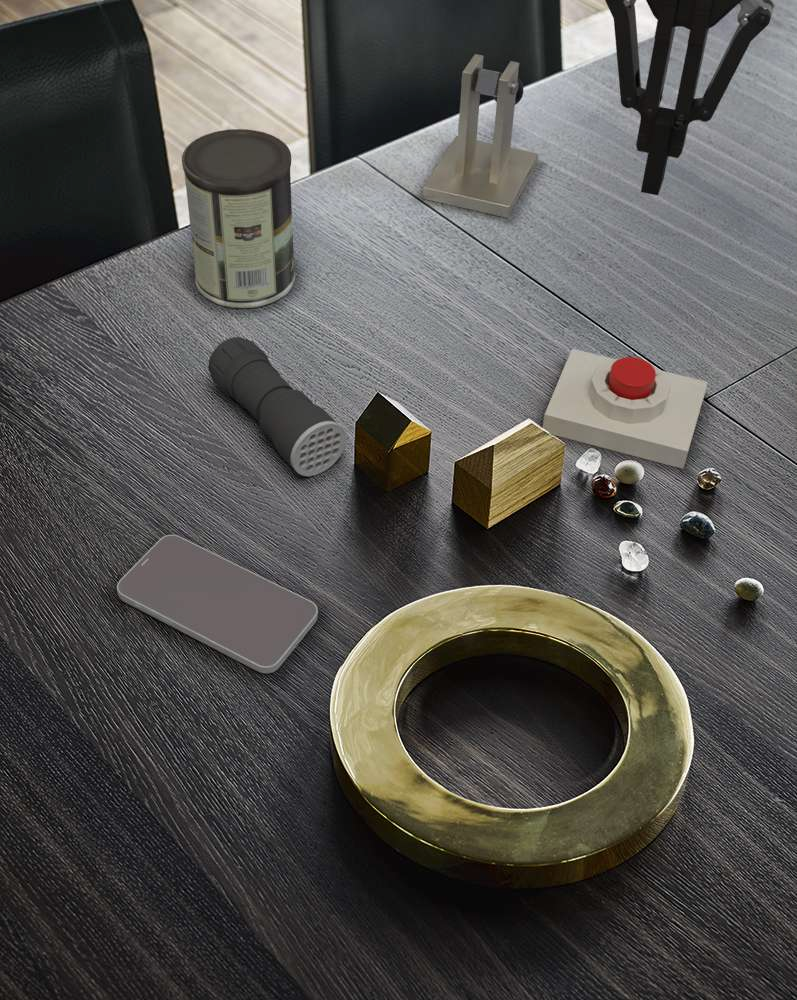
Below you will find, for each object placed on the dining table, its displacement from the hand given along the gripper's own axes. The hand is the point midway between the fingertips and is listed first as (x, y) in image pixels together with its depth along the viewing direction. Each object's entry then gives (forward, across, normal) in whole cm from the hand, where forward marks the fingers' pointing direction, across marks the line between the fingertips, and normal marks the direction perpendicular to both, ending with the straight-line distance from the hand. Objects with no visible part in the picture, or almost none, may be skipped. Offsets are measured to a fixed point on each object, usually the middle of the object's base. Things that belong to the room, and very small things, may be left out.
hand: (652, 185), depth 107 cm
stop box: (+19, -2, +8) cm, 21 cm away
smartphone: (+19, +24, +41) cm, 51 cm away
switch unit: (+19, +21, -26) cm, 39 cm away
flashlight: (+19, +27, +20) cm, 39 cm away
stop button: (+16, -2, +8) cm, 18 cm away
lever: (+11, +21, -30) cm, 38 cm away
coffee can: (+19, +39, 0) cm, 43 cm away
